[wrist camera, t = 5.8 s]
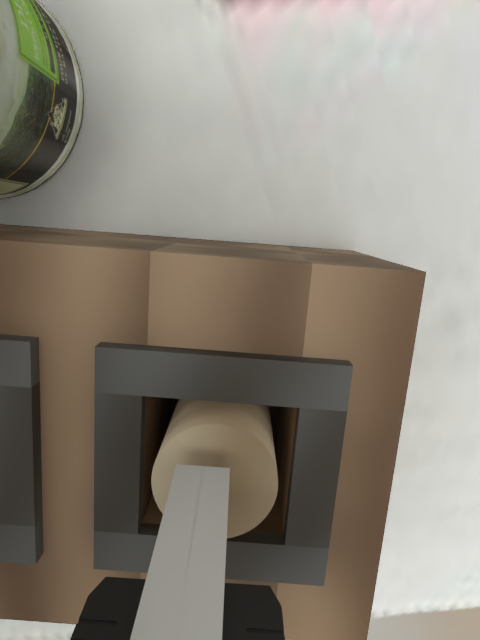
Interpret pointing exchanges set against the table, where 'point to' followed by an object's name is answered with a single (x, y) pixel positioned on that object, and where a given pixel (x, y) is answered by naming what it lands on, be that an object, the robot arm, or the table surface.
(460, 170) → the table surface
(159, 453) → the dowel
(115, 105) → the table surface
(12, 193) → the coffee can
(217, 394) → the socket block
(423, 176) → the table surface
